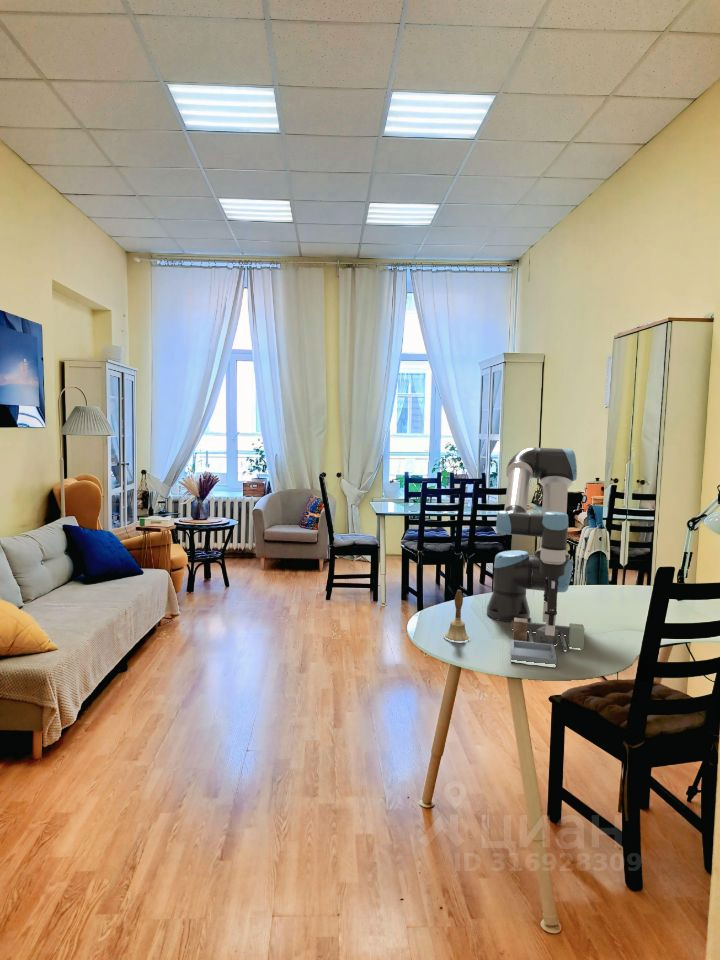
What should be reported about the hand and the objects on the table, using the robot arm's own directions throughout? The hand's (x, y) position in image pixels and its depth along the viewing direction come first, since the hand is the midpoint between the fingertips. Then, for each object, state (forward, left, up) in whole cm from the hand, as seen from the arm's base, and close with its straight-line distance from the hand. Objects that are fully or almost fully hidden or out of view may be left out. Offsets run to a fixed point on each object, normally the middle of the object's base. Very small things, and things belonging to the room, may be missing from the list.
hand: (548, 628), depth 198 cm
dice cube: (0, 0, -6) cm, 6 cm away
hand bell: (-28, -4, -6) cm, 29 cm away
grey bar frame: (0, +3, -5) cm, 6 cm away
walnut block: (-8, 0, -5) cm, 10 cm away
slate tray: (-5, -13, -5) cm, 15 cm away
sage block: (+9, 0, -5) cm, 10 cm away
